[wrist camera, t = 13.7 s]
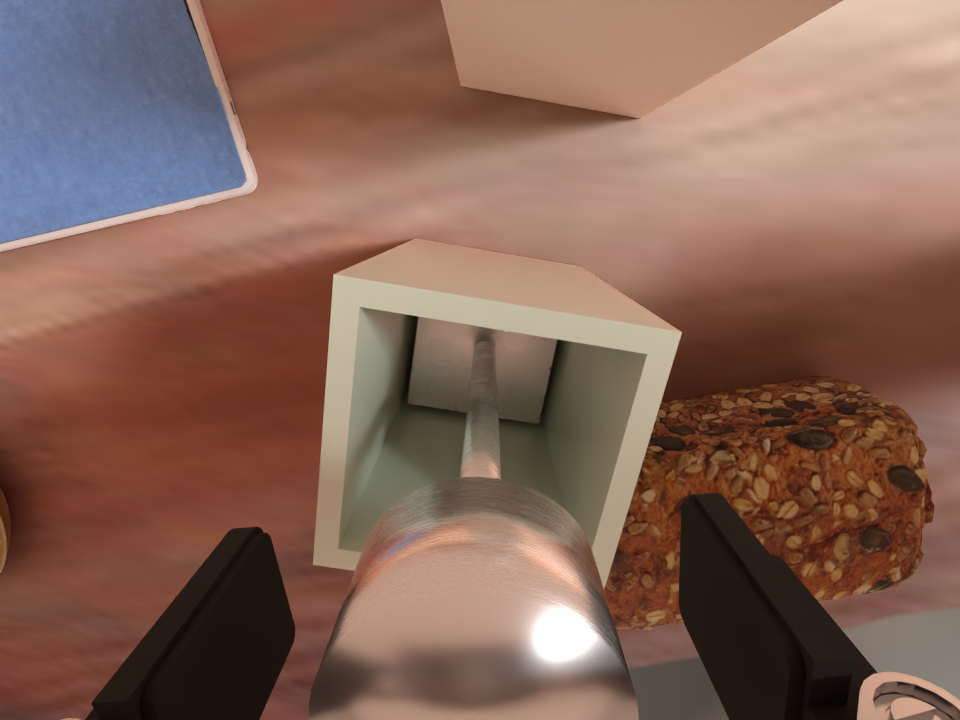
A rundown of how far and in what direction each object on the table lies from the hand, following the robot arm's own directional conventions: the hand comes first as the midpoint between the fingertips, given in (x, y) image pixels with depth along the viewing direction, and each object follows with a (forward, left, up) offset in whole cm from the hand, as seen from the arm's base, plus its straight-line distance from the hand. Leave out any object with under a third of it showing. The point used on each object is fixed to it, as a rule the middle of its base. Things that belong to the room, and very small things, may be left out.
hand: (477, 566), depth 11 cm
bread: (-15, -6, -21) cm, 27 cm away
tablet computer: (+24, +12, -22) cm, 34 cm away
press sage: (0, 0, -21) cm, 21 cm away
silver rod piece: (0, 0, -17) cm, 17 cm away
